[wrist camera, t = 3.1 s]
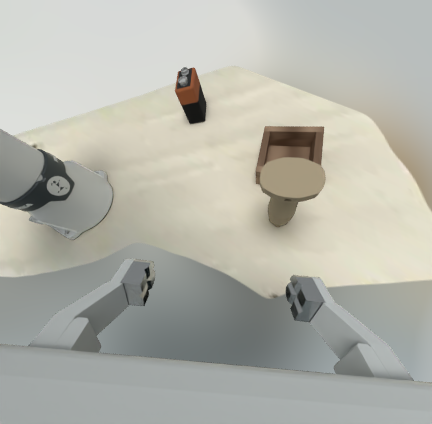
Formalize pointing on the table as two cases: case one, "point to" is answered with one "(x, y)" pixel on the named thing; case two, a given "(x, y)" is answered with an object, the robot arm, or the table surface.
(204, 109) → the battery
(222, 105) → the table surface
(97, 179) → the robot arm
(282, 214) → the handle
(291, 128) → the brown square open box
